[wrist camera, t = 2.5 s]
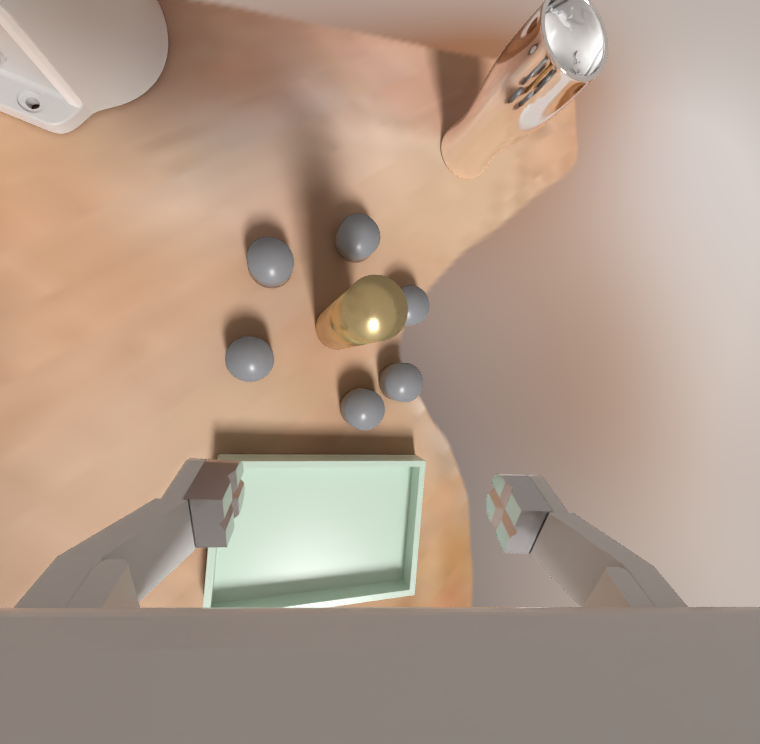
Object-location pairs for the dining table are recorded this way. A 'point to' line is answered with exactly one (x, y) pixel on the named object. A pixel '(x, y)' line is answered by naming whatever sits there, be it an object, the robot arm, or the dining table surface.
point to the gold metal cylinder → (364, 314)
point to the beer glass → (529, 83)
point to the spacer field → (274, 269)
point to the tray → (320, 532)
